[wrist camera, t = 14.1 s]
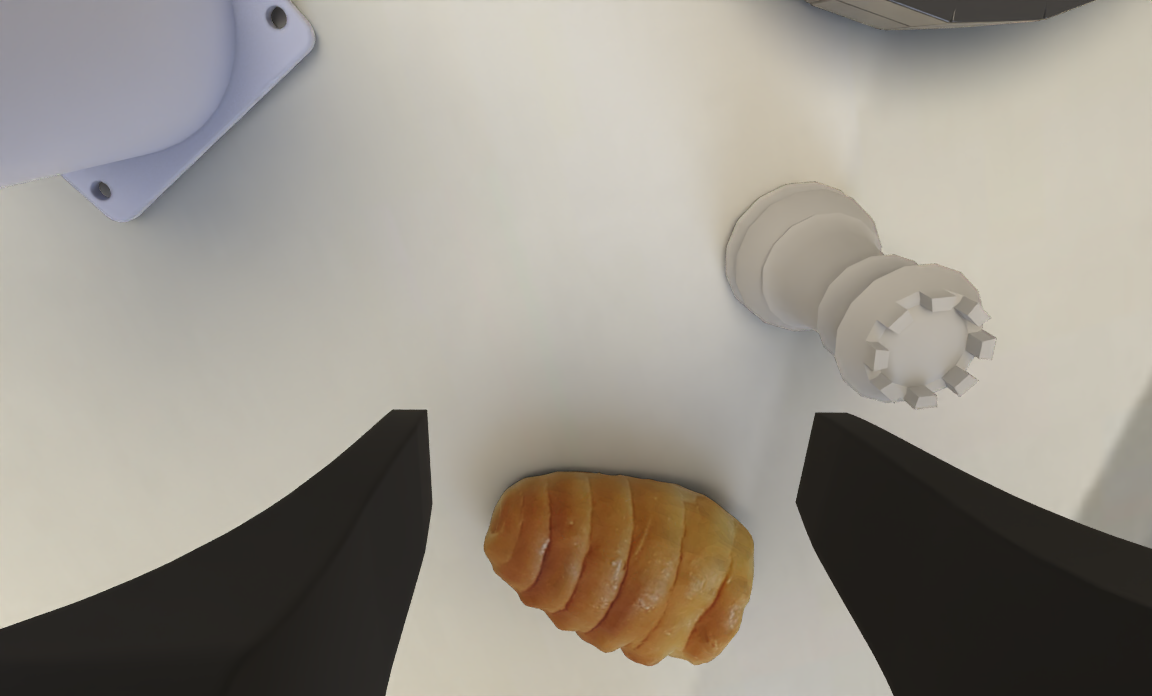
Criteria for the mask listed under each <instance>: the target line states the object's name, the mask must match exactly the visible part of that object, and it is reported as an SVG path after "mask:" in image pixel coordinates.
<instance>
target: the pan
mask: <svg viewBox="0 0 1152 696" xmlns="http://www.w3.org/2000/svg"><path fill="white" fill-rule="evenodd" d="M805 1H806V2H807V3H810V4H811V5H812V6H815V7H818V8H821V9H824V10H826V11H829V12H832V13H835V14H838V15H840V16H843V17H846V18H849V19H852V20H854V21H857V22H860V23H863V24H866V25H868V26H871V27H874V28H877V29H880V30H881V29H884V30H909V29H939V28H963V27H974V26H986V25H998V24H1009V23H1021V22H1033V21H1040V20H1046V19H1048V18H1051V17H1054V16H1056V15H1059V14H1062V13H1064V12H1067V11H1070V10H1072V9H1075V8H1078V7H1080V6H1083V5H1086V4H1088V3H1091V2H1094V1H1096V0H805Z"/></svg>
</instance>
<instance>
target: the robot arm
mask: <svg viewBox="0 0 1152 696" xmlns="http://www.w3.org/2000/svg"><path fill="white" fill-rule="evenodd" d="M277 7H280V8H281V9H283V10H284V12H285V14H286V16H287V23H286V25H285V26H284V27H283V28H281V29H279V28H277V27H276V26H275V25H274V24H273V22H272V20H271V13H272V11H273V9H275V8H277ZM314 44H315V33H314V29H313V28H312V26H311V24H310V23H309V21H308V20H307V19H306V18H305V17H304V15H303V14H302V13H301V12H300V11H299V10H298V8H297V7H296V6H295V5H294V4H293V3H292V1H291V0H0V188H5V187H9V186H13V185H18V184H22V183H26V182H30V181H35V180H39V179H43V178H48V177H52V176H56V175H61V176H62V177H63V178H64V179H65V180H66V181H68V182H69V183H70V184H71V185H72V186H73V187H74V188H75V189H77V190H78V191H79V192H80V193H81V194H82V195H83V196H84V197H85V198H87V199H88V200H89V201H90V202H91V203H92V204H93V205H94V206H96V207H97V208H98V209H99V210H100V211H101V212H102V213H103V214H104V215H106V216H107V217H109V218H110V219H112V220H114V221H117V222H128V221H130V220H133V219H135V218H136V217H138V216H139V215H140V214H141V213H142V212H144V211H145V210H146V209H147V208H148V207H149V206H150V205H151V204H152V203H153V202H154V201H155V200H156V199H157V198H158V197H159V196H160V195H161V194H162V193H163V192H164V191H165V190H166V189H168V188H169V187H170V186H171V185H172V184H173V183H174V182H175V181H176V180H177V179H178V178H179V177H180V176H181V175H182V174H183V173H184V172H185V171H186V170H187V169H188V168H189V167H191V166H192V165H193V164H194V163H195V162H196V161H197V160H198V159H199V158H200V157H201V156H202V155H203V154H204V153H205V152H206V151H207V150H208V149H209V148H210V147H211V146H212V145H213V144H215V143H216V142H217V141H218V140H219V139H220V138H221V137H222V136H223V135H224V134H225V133H226V132H227V131H228V130H229V129H230V128H231V127H232V126H233V125H234V124H235V123H236V122H238V121H239V120H240V119H241V118H242V117H243V116H244V115H245V114H246V113H247V112H248V111H249V110H250V109H251V108H252V107H253V106H254V105H255V104H256V103H257V102H258V101H259V100H260V99H262V98H263V97H264V96H265V95H266V94H267V93H268V92H269V91H270V90H271V89H272V88H273V87H274V86H275V85H276V84H277V83H278V82H279V81H280V80H281V79H282V78H283V77H284V76H286V75H287V74H288V73H289V72H290V71H291V70H292V69H293V68H294V67H295V66H296V65H297V64H298V63H299V62H300V61H301V60H302V59H303V58H304V57H305V56H306V55H307V54H309V53H310V51H311V50H312V48H313V47H314ZM100 182H103V183H105V184H107V186H108V187H109V188H110V191H111V196H110V197H107V196H105V195H104V194H103V193H102V192H101V191H100V188H99V184H100ZM796 504H797V507H798V510H799V513H800V515H801V518H802V521H803V524H804V526H805V529H806V531H807V534H808V536H809V539H810V541H811V543H812V546H813V548H814V550H815V552H816V554H817V556H818V558H819V559H820V561H821V563H822V565H823V567H824V568H825V570H826V572H827V574H828V576H829V577H830V579H831V581H832V583H833V585H834V586H835V588H836V590H837V592H838V593H839V595H840V597H841V599H842V600H843V602H844V604H845V605H846V607H847V609H848V611H849V612H850V614H851V616H852V618H853V619H854V621H855V623H856V625H857V626H858V628H859V630H860V632H861V633H862V635H863V637H864V639H865V640H866V642H867V644H868V646H869V647H870V649H871V651H872V653H873V654H874V656H875V658H876V660H877V662H878V664H879V666H880V668H881V670H882V672H883V674H884V676H885V678H886V680H887V682H888V684H889V686H890V689H891V691H892V693H893V695H894V696H1152V549H1150V548H1147V547H1144V546H1141V545H1138V544H1136V543H1133V542H1130V541H1127V540H1124V539H1121V538H1118V537H1115V536H1112V535H1109V534H1107V533H1104V532H1101V531H1098V530H1096V529H1093V528H1090V527H1088V526H1085V525H1082V524H1080V523H1077V522H1075V521H1073V520H1070V519H1068V518H1065V517H1063V516H1060V515H1058V514H1055V513H1053V512H1050V511H1048V510H1045V509H1043V508H1041V507H1038V506H1036V505H1033V504H1031V503H1029V502H1027V501H1024V500H1022V499H1020V498H1018V497H1015V496H1013V495H1011V494H1009V493H1007V492H1005V491H1003V490H1001V489H999V488H996V487H994V486H992V485H990V484H988V483H986V482H984V481H982V480H980V479H978V478H976V477H974V476H972V475H970V474H968V473H966V472H964V471H962V470H960V469H958V468H956V467H954V466H952V465H950V464H948V463H946V462H944V461H942V460H940V459H939V458H937V457H935V456H933V455H931V454H929V453H927V452H925V451H923V450H922V449H920V448H918V447H916V446H914V445H912V444H910V443H908V442H906V441H905V440H903V439H901V438H899V437H897V436H895V435H893V434H891V433H890V432H888V431H886V430H884V429H882V428H880V427H878V426H876V425H874V424H872V423H870V422H868V421H866V420H863V419H861V418H859V417H857V416H854V415H851V414H849V413H815V417H814V421H813V426H812V430H811V435H810V439H809V444H808V448H807V453H806V457H805V462H804V467H803V471H802V476H801V480H800V485H799V489H798V494H797V498H796ZM431 510H432V487H431V470H430V452H429V435H428V417H427V410H392V411H390V412H389V413H388V414H387V415H386V416H384V417H383V418H382V419H381V420H380V421H379V422H378V423H376V424H375V425H374V426H373V427H372V428H371V429H370V430H369V431H367V432H366V433H365V434H364V435H363V436H362V437H361V438H359V439H358V440H357V441H356V442H355V443H354V444H353V445H351V446H350V447H349V448H348V449H347V450H345V451H344V452H343V453H342V454H341V455H340V456H338V457H337V458H336V459H335V460H334V461H332V462H331V463H330V464H329V465H327V466H326V467H325V468H323V469H322V470H321V471H319V472H318V473H317V474H315V475H314V476H313V477H311V478H310V479H309V480H307V481H306V482H305V483H303V484H302V485H301V486H299V487H298V488H297V489H295V490H294V491H293V492H291V493H290V494H289V495H287V496H286V497H284V498H283V499H281V500H280V501H278V502H277V503H275V504H274V505H272V506H271V507H269V508H268V509H266V510H265V511H263V512H261V513H260V514H258V515H256V516H255V517H253V518H252V519H250V520H248V521H247V522H245V523H243V524H242V525H240V526H238V527H237V528H235V529H233V530H231V531H230V532H228V533H226V534H224V535H222V536H220V537H218V538H216V539H214V540H212V541H211V542H209V543H207V544H205V545H203V546H201V547H199V548H197V549H195V550H193V551H191V552H189V553H187V554H185V555H184V556H182V557H180V558H178V559H176V560H174V561H172V562H170V563H168V564H165V565H163V566H161V567H159V568H157V569H155V570H152V571H150V572H148V573H146V574H143V575H141V576H139V577H137V578H134V579H132V580H130V581H127V582H125V583H123V584H120V585H118V586H115V587H113V588H111V589H108V590H106V591H103V592H101V593H99V594H96V595H94V596H91V597H88V598H86V599H83V600H81V601H78V602H76V603H73V604H70V605H68V606H65V607H62V608H59V609H56V610H53V611H51V612H48V613H45V614H42V615H39V616H36V617H33V618H31V619H28V620H25V621H22V622H19V623H16V624H14V625H11V626H8V627H5V628H2V629H0V696H385V695H386V690H387V686H388V682H389V677H390V673H391V669H392V665H393V662H394V658H395V655H396V651H397V648H398V644H399V641H400V637H401V634H402V631H403V627H404V624H405V620H406V617H407V613H408V610H409V606H410V603H411V600H412V596H413V593H414V589H415V586H416V582H417V579H418V575H419V572H420V568H421V565H422V561H423V557H424V554H425V549H426V543H427V536H428V530H429V523H430V517H431Z"/></svg>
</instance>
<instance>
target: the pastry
mask: <svg viewBox="0 0 1152 696" xmlns="http://www.w3.org/2000/svg"><path fill="white" fill-rule="evenodd" d="M484 552H485V554H486V556H487V557H488V558H489V560H490V562H491V564H492V566H493V570H494V572H495V573H496V574H497V575H499V576H500V577H501V578H502V579H503V580H504V581H505V582H507V583H508V584H509V585H510V586H511V587H512V588H513V589H514V590H515V591H516V592H517V593H518V595H519V597H520V599H521V601H522V602H523V603H524V604H525V605H526V606H530V607H534V608H539V609H541V610H543V611H545V613H546V614H547V615H548V617H549V618H550V619H551V620H552V622H553V623H554V624H555V626H556V627H557V628H558V629H560V630H565V631H576V633H577V635H578V636H579V637H580V638H581V639H582V640H584V641H586V642H588V643H590V644H592V645H594V646H595V647H597V648H598V649H599V650H601V651H603V652H605V653H607V652H613V651H615V650H616V649H618V648H621V649H622V651H623V653H624V655H625V656H626V657H627V658H629V659H630V660H632V661H634V662H636V663H640V664H643V665H647V666H653V665H655V664H657V663H659V662H660V661H661V660H662V659H664V658H665V657H666V656H668V655H669V656H671V657H675V658H680V659H684V660H687V661H689V662H690V663H692V664H693V665H700V664H702V663H708V662H710V661H711V660H713V659H714V658H715V657H716V656H718V655H719V654H720V653H721V652H722V651H723V649H724V648H725V647H726V646H727V645H728V643H729V642H730V641H731V639H732V638H733V637H734V636H735V634H736V633H737V632H738V630H739V628H740V624H741V621H742V615H743V611H744V608H745V606H746V605H747V603H748V602H749V599H750V594H751V590H752V583H753V576H754V542H753V539H752V536H751V534H750V533H749V532H748V530H747V529H746V528H745V527H744V526H743V525H742V524H741V523H740V522H739V521H738V520H737V519H735V518H734V517H733V516H732V515H730V514H729V513H728V512H726V511H725V510H724V509H723V508H722V507H720V506H719V505H718V504H717V503H715V502H714V501H713V500H711V499H709V498H708V497H706V496H705V495H702V494H700V493H697V492H694V491H691V490H689V489H686V488H684V487H682V486H680V485H678V484H673V483H666V482H658V481H655V480H652V479H639V478H635V477H629V476H623V475H620V474H619V475H604V474H601V473H600V472H599V473H591V472H578V471H572V472H554V473H550V474H546V475H541V476H534V477H527V478H524V479H522V480H520V481H518V482H517V483H515V484H514V485H512V486H511V487H509V488H508V489H507V490H506V491H505V492H504V493H503V494H502V496H501V498H500V500H499V501H498V503H497V505H496V506H495V509H494V511H493V515H492V519H491V522H490V526H489V529H488V532H487V535H486V537H485V541H484Z"/></svg>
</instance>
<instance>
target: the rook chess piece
mask: <svg viewBox="0 0 1152 696" xmlns="http://www.w3.org/2000/svg"><path fill="white" fill-rule="evenodd" d="M881 249H882V246H881V243H880V239H879V236H878V233H877V230H876V226H875V223H874V221H873V220H872V218H871V217H870V215H869V214H868V213H867V212H866V211H865V210H864V209H863V208H862V207H861V206H860V205H859V204H858V203H857V202H856V201H855V200H854V199H853V198H851V197H848V196H846V195H845V194H844V193H843V192H842V191H841V190H838V189H835V188H832V187H829V186H826V185H824V184H821V183H818V182H804V183H793V184H785V185H783V186H781V187H779V188H777V189H775V190H773V191H771V192H769V193H767V194H766V195H764V196H762V197H760V198H758V199H757V200H756V201H755V202H754V203H753V205H752V206H751V207H750V208H749V209H748V210H747V211H746V212H745V213H744V214H743V215H742V216H741V217H740V218H739V219H738V221H737V223H736V225H735V228H734V230H733V232H732V235H731V237H730V240H729V242H728V244H727V247H726V277H727V279H728V281H729V284H730V286H731V288H732V291H733V293H734V295H735V298H736V299H737V300H738V301H740V302H741V303H742V304H743V305H744V306H745V307H746V308H748V309H749V310H750V311H751V312H752V313H753V314H755V315H756V316H758V317H759V318H760V319H761V320H762V321H763V322H764V323H768V324H771V325H774V326H778V327H781V328H784V329H788V330H791V331H803V330H815V331H816V332H818V333H819V335H820V338H821V341H822V343H823V346H824V347H825V348H826V349H827V350H828V351H829V352H830V353H831V354H832V355H833V356H835V359H836V362H837V365H838V368H839V370H840V373H841V376H842V378H843V380H844V381H845V382H846V383H847V384H848V385H849V386H850V387H852V388H853V389H854V390H855V391H856V392H857V393H858V394H859V395H861V396H863V397H866V398H870V399H873V400H877V401H881V402H884V403H890V402H893V403H895V402H900V401H906V402H907V403H908V404H909V405H910V406H911V407H912V408H913V409H922V408H932V407H937V395H936V394H934V393H935V392H937V391H939V390H941V389H944V388H946V387H948V388H949V389H950V390H952V391H953V392H954V393H955V394H957V395H958V396H959V397H961V396H962V395H963V394H964V393H965V392H966V391H968V390H969V389H970V388H971V387H972V386H973V385H975V384H976V383H977V382H978V381H979V380H977V379H976V378H975V377H973V376H972V375H970V374H969V373H968V372H966V370H967V368H968V366H969V365H970V363H971V361H972V360H973V358H974V357H977V358H978V359H986V360H992V358H993V354H994V349H995V344H996V339H997V338H996V337H994V336H992V335H991V334H989V333H987V332H986V331H984V330H982V328H983V323H985V322H986V321H988V320H989V319H991V317H990V316H989V314H988V313H987V312H986V311H985V310H984V309H983V307H982V303H981V299H980V295H979V291H978V290H977V289H976V288H975V287H974V286H973V284H972V283H971V282H970V281H969V280H968V279H967V278H966V277H965V276H964V275H963V274H962V273H961V272H959V271H956V270H953V269H950V268H947V267H944V266H941V265H938V264H935V263H934V264H923V265H918V264H917V263H916V262H915V261H912V260H909V259H906V258H903V257H900V256H897V255H894V254H892V255H884V254H883V253H882V252H881Z"/></svg>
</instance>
